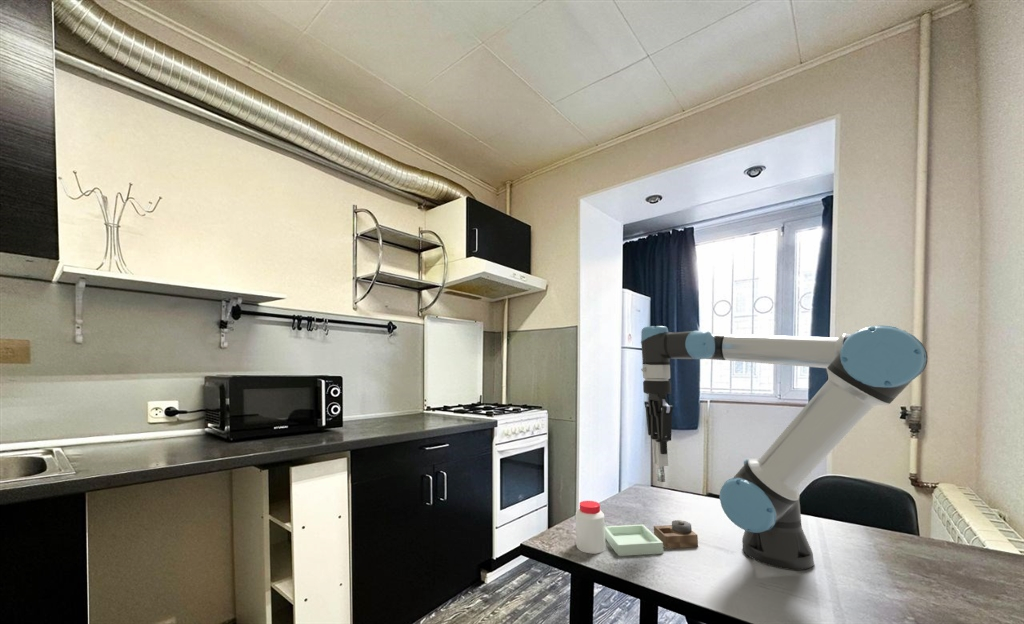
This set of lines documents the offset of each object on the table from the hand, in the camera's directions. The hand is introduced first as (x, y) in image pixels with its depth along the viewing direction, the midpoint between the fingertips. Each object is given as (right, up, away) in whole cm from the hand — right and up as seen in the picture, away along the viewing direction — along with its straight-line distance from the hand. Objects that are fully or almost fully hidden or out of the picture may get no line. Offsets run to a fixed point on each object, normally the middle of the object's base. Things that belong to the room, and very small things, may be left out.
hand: (660, 464), depth 113 cm
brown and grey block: (+3, -20, -3) cm, 21 cm away
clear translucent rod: (0, -5, -1) cm, 4 cm away
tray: (-9, -20, -4) cm, 23 cm away
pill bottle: (-21, -21, -5) cm, 30 cm away
